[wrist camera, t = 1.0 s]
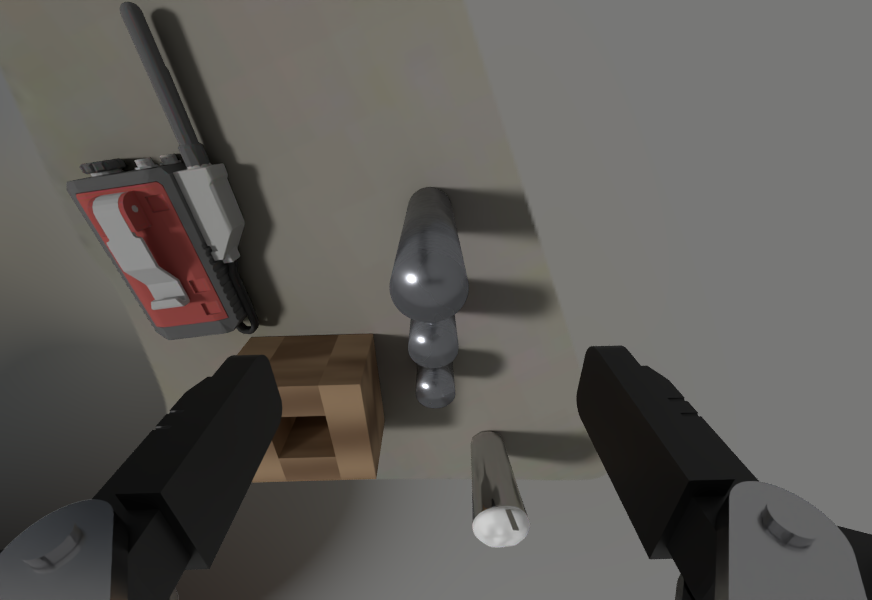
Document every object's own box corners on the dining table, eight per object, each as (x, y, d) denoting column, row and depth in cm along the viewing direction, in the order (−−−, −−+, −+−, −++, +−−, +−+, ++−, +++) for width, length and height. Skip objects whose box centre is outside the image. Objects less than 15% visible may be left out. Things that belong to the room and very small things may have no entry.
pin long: (406, 187, 23) (385, 253, 13) (451, 186, 23) (469, 250, 13) (409, 231, 24) (393, 323, 14) (451, 230, 24) (467, 321, 14)
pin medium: (412, 276, 26) (406, 327, 20) (452, 275, 26) (458, 326, 20) (414, 311, 28) (409, 368, 21) (452, 310, 28) (458, 367, 21)
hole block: (251, 337, 29) (210, 388, 23) (373, 333, 29) (359, 384, 23) (280, 423, 33) (252, 482, 28) (384, 420, 33) (376, 478, 28)
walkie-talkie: (290, 319, 28) (165, 5, 19) (267, 352, 24) (96, -22, 15) (186, 331, 29) (14, 32, 19) (148, 366, 25) (-91, 12, 15)
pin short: (416, 346, 29) (414, 379, 26) (452, 346, 29) (455, 378, 26) (418, 374, 31) (416, 408, 27) (452, 373, 31) (455, 407, 27)
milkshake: (516, 422, 34) (547, 532, 25) (503, 458, 36) (526, 570, 27) (470, 417, 33) (485, 527, 25) (460, 454, 36) (469, 566, 27)
